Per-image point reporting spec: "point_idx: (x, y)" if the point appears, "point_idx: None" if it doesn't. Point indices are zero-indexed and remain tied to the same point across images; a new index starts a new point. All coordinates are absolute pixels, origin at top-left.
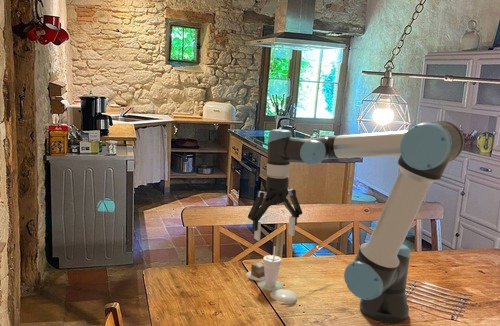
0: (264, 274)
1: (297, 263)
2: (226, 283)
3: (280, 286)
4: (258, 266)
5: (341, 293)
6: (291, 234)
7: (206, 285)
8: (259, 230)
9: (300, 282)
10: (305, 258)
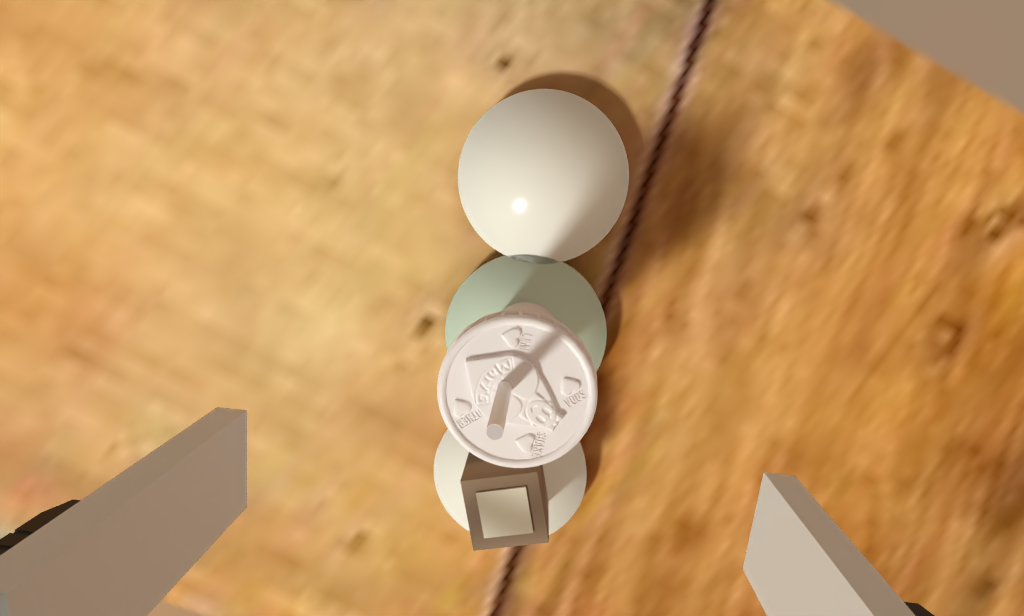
0: None
1: None
2: (720, 496)
3: (483, 286)
4: (528, 491)
5: (167, 58)
6: (240, 441)
7: None
8: (858, 572)
9: (312, 302)
10: None
